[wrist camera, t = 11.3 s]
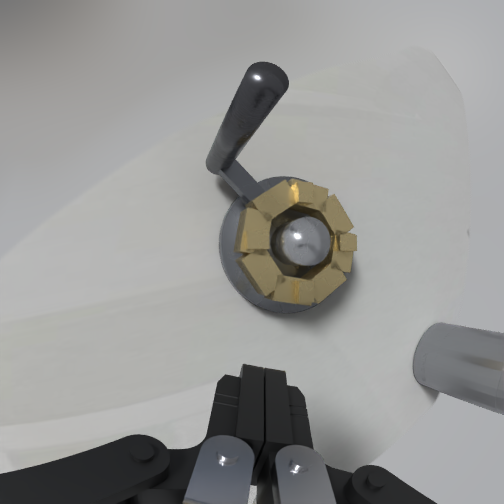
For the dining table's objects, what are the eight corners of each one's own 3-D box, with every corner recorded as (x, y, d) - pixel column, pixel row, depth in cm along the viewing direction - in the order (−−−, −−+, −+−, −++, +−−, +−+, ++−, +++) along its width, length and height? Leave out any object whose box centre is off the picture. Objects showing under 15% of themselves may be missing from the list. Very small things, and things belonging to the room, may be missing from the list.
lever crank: (357, 258, 31) (469, 253, 17) (278, 323, 28) (372, 369, 14) (271, 122, 29) (344, 36, 15) (177, 173, 26) (193, 88, 12)
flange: (330, 178, 32) (359, 164, 27) (347, 297, 32) (378, 302, 27) (210, 185, 29) (221, 167, 23) (229, 322, 29) (243, 334, 23)
